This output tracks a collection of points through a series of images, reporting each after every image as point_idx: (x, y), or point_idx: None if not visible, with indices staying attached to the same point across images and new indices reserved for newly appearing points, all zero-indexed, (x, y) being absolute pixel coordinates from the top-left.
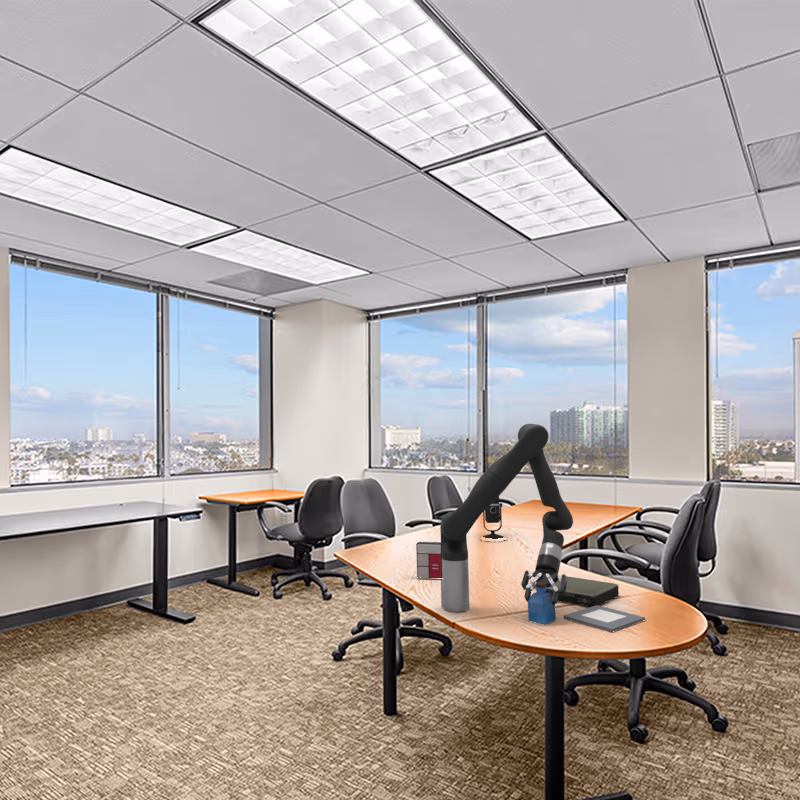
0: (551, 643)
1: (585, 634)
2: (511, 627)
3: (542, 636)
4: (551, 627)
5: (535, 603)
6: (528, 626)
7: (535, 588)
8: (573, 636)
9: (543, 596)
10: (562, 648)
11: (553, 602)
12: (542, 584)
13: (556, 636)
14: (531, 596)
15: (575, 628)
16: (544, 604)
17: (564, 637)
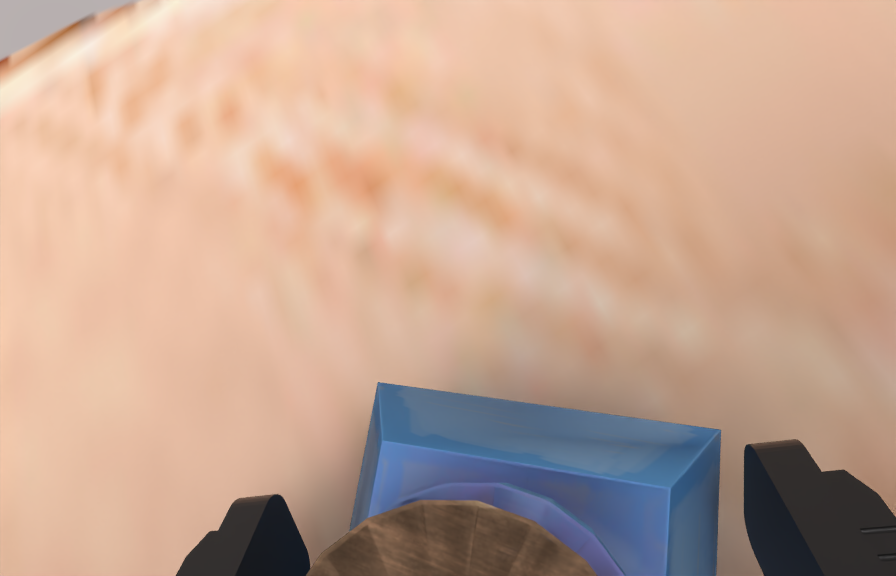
0: (243, 38)
1: (57, 366)
2: (696, 150)
3: (347, 117)
4: (361, 378)
5: (550, 408)
6: (568, 274)
7: (619, 567)
8: (134, 262)
9: (378, 446)
10: (158, 9)
11: (247, 499)
12: (326, 555)
13: (251, 183)
14: (670, 459)
15: (155, 483)
16: (377, 390)
17: (191, 200)
